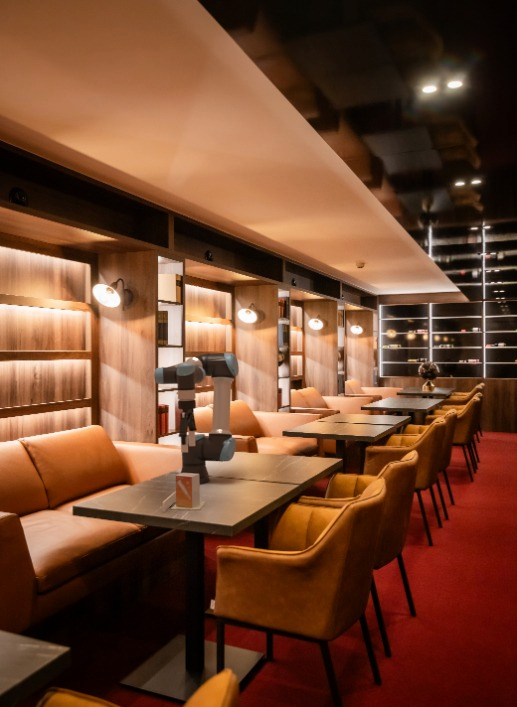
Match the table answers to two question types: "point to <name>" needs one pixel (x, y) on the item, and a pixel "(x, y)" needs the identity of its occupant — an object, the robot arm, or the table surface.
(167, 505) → the fence
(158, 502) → the table surface
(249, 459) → the table surface
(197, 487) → the small box
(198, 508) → the mat
